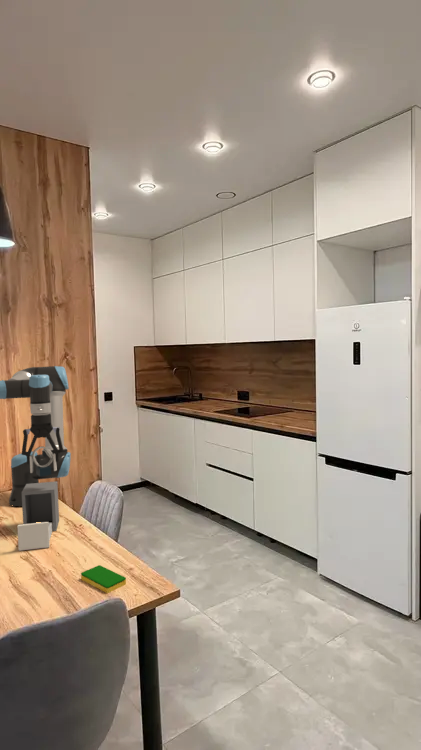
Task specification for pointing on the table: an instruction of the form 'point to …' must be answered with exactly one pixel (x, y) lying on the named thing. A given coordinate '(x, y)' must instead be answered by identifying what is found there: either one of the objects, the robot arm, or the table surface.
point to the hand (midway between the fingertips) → (43, 471)
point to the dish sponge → (103, 578)
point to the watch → (43, 469)
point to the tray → (34, 535)
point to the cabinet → (40, 503)
